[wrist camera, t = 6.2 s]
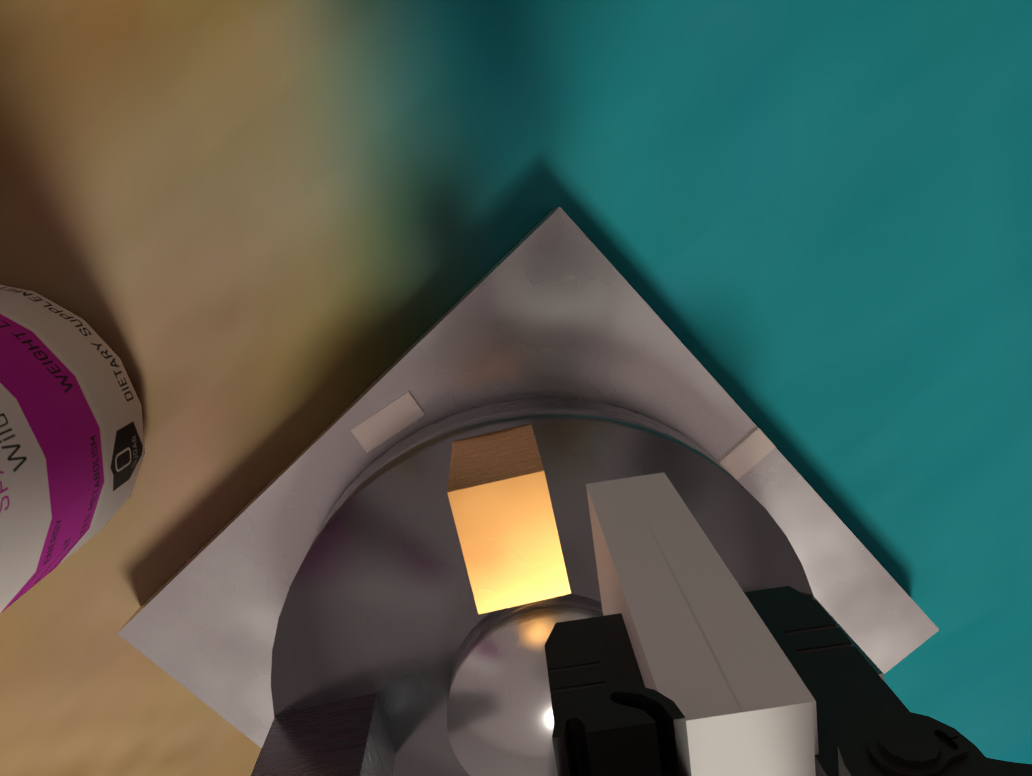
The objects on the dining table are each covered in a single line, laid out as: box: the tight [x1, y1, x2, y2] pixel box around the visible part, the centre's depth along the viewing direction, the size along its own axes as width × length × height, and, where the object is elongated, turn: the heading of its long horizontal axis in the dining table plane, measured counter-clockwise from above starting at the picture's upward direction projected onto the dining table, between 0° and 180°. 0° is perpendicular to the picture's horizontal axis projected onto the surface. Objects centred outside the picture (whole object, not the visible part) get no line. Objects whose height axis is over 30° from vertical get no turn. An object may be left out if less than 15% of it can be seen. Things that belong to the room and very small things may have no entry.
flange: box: [117, 207, 939, 748], centre depth 23 cm, size 18×18×2 cm
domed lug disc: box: [251, 398, 884, 776], centre depth 19 cm, size 15×15×6 cm
